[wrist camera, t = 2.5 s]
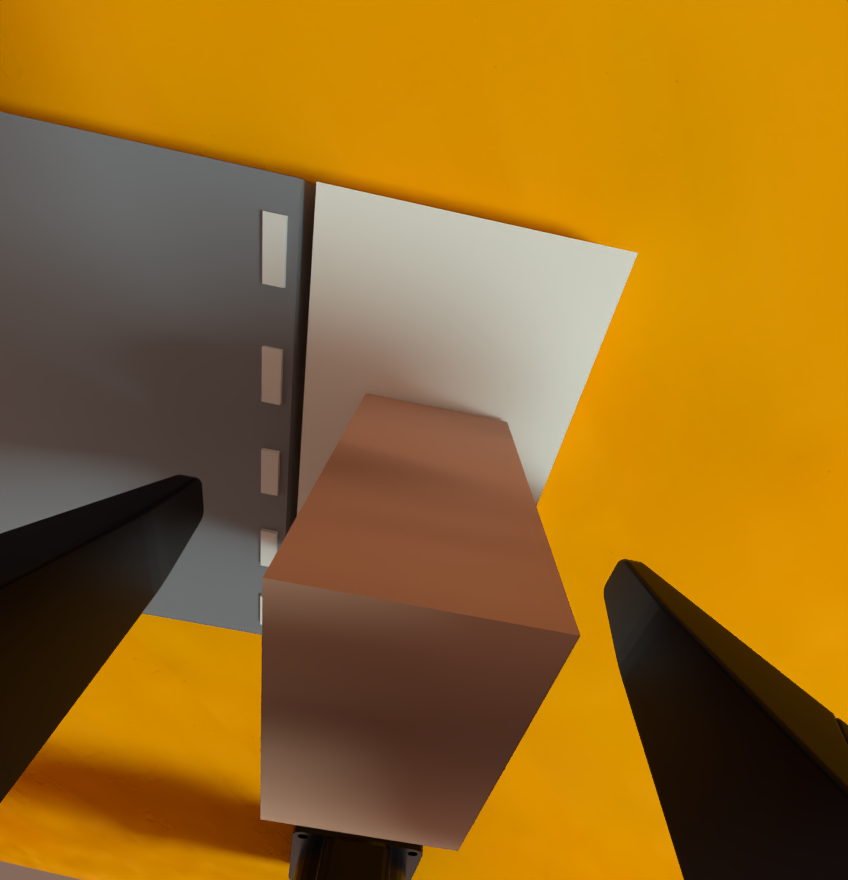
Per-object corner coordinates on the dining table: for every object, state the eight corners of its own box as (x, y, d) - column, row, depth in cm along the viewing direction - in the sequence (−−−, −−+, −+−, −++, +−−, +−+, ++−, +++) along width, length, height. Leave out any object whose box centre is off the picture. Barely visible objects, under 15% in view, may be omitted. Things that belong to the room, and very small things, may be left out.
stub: (467, 645, 13) (482, 935, 7) (300, 614, 13) (190, 890, 7) (615, 252, 8) (1040, 264, 2) (332, 189, 7) (7, 25, 2)
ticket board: (292, 610, 13) (279, 640, 12) (-82, 543, 12) (-128, 568, 11) (318, 186, 7) (298, 177, 6) (-341, 40, 7) (-469, 6, 6)
